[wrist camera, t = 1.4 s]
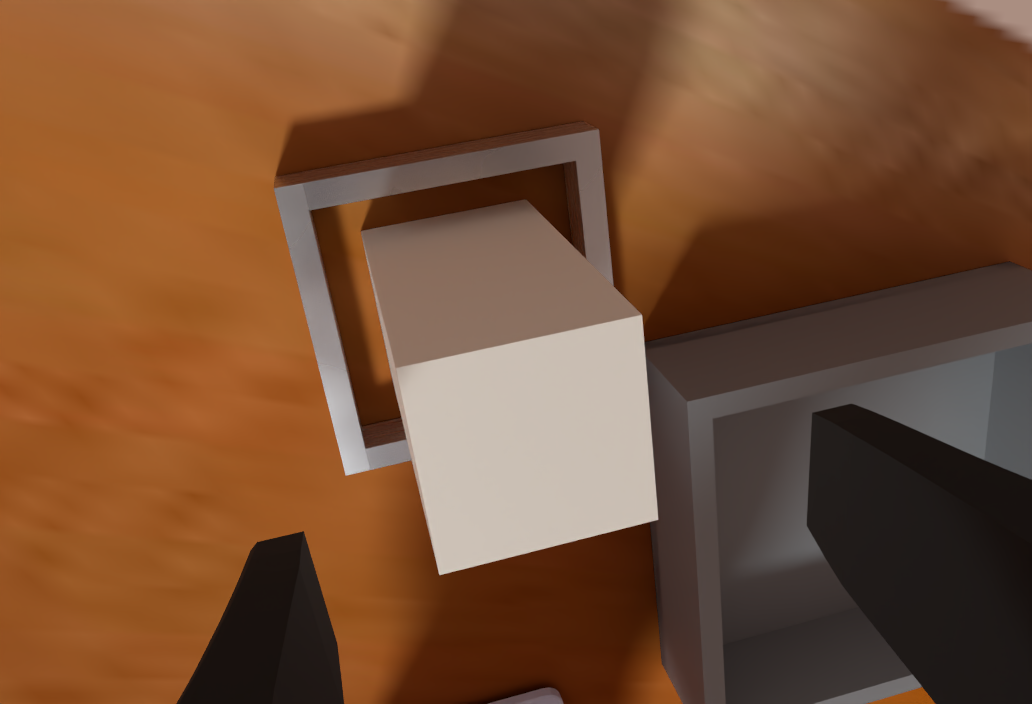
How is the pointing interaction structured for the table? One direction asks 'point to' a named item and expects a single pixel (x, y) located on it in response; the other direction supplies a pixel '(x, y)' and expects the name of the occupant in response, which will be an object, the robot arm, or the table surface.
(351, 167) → the steel socket
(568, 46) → the table surface
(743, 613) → the bin
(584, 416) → the strut
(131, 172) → the table surface
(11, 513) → the table surface
